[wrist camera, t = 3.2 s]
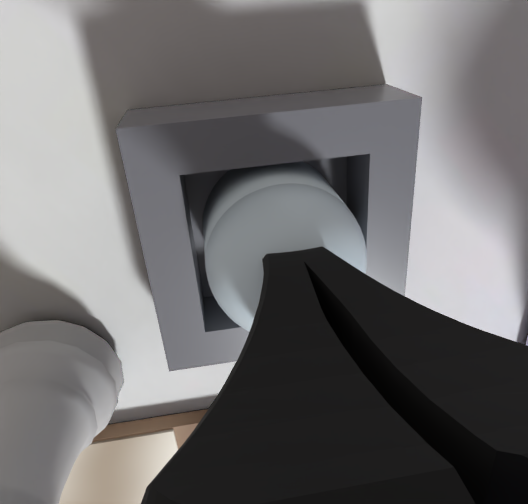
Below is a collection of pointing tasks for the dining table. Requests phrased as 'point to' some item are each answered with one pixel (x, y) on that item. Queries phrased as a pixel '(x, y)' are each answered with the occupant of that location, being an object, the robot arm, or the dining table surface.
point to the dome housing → (252, 155)
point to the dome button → (271, 229)
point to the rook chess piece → (51, 405)
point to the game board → (127, 459)
